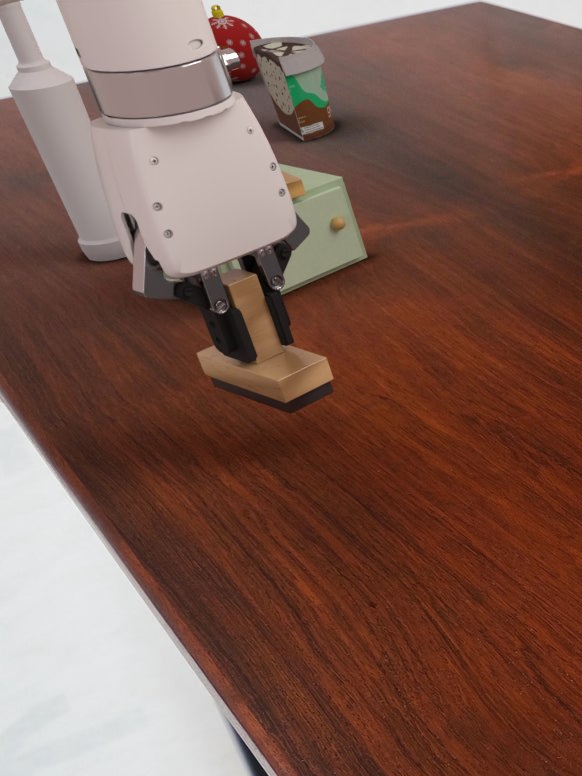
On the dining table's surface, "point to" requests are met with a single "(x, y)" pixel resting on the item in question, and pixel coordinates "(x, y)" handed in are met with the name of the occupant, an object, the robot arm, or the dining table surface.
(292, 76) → the food container
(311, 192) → the cabinet
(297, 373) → the brush
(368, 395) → the dining table surface
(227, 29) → the christmas ornament
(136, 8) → the robot arm
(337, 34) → the dining table surface
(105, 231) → the bottle
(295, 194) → the cork chip
